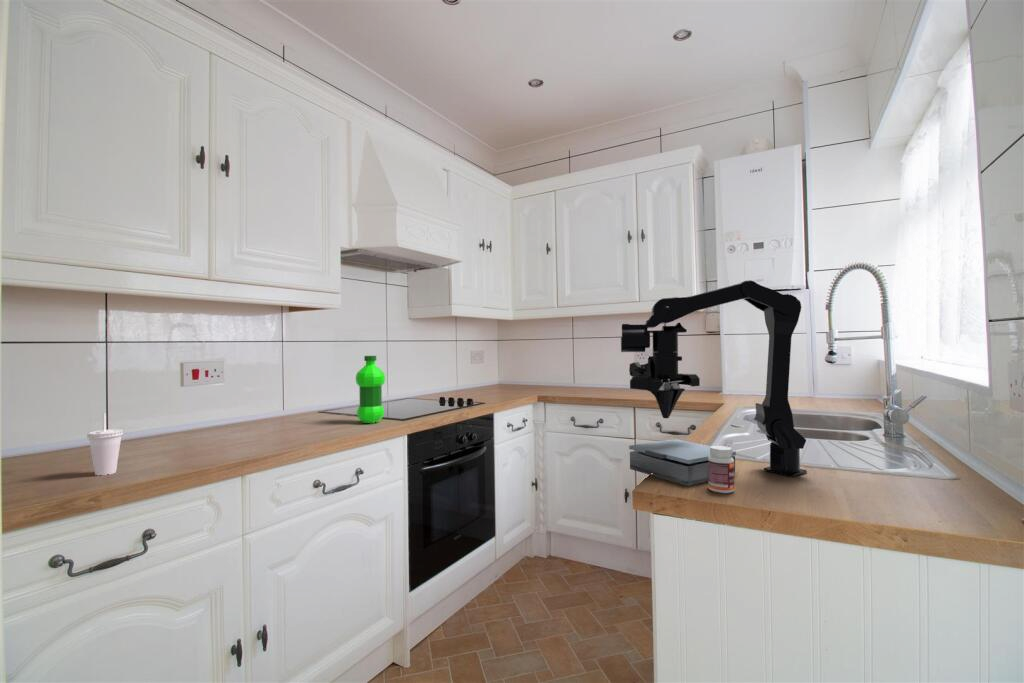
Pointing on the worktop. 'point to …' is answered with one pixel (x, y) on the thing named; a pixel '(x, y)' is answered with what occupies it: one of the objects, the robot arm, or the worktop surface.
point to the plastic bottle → (370, 391)
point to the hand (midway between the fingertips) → (665, 418)
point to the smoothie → (105, 449)
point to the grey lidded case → (671, 468)
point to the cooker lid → (676, 450)
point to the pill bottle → (721, 469)
